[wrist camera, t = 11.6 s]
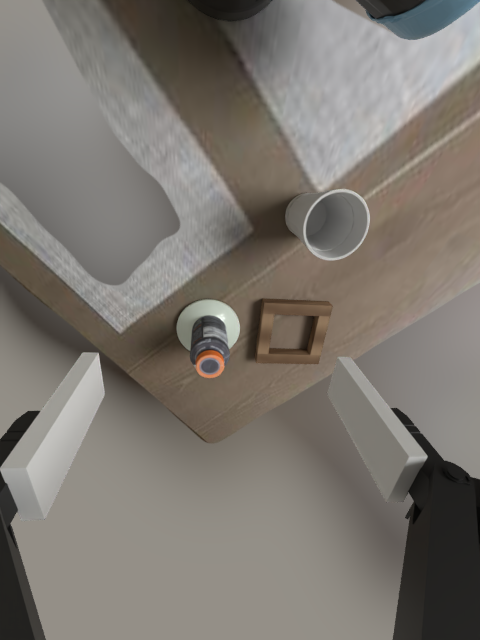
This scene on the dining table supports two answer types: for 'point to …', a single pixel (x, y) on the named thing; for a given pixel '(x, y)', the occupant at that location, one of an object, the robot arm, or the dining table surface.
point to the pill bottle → (209, 346)
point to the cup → (329, 222)
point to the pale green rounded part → (205, 309)
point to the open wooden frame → (292, 307)
